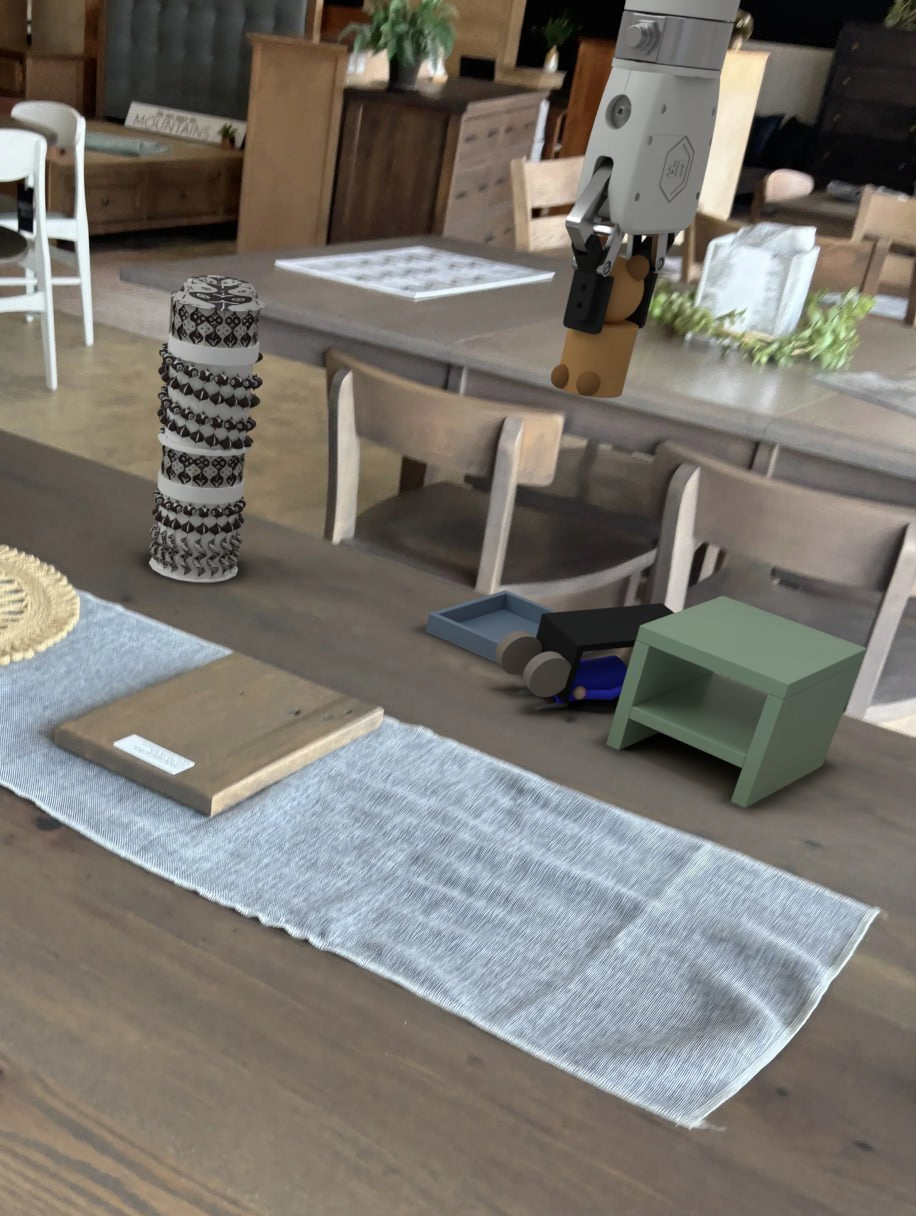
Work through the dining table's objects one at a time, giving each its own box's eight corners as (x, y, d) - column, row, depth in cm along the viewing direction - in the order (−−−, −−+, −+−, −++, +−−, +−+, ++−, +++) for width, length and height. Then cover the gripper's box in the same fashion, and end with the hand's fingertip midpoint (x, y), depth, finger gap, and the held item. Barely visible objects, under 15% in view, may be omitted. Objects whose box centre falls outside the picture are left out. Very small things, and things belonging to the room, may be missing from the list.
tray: (500, 610, 132) (505, 589, 131) (601, 652, 126) (607, 631, 124) (424, 634, 125) (428, 612, 124) (526, 679, 119) (532, 657, 118)
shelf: (686, 712, 116) (723, 595, 111) (821, 769, 110) (868, 648, 104) (604, 747, 109) (639, 625, 103) (743, 811, 102) (789, 684, 97)
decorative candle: (143, 549, 137) (163, 266, 123) (238, 556, 138) (269, 275, 123) (144, 582, 129) (165, 285, 115) (244, 590, 130) (277, 295, 116)
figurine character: (525, 741, 112) (689, 710, 116) (537, 652, 108) (707, 623, 111) (486, 704, 117) (643, 676, 121) (496, 618, 113) (659, 592, 116)
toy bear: (579, 378, 114) (611, 243, 109) (634, 394, 112) (670, 256, 106) (538, 385, 111) (569, 246, 105) (593, 401, 108) (628, 259, 102)
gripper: (651, 48, 91) (581, 347, 102) (778, 60, 101) (702, 331, 112) (556, 36, 95) (497, 324, 106) (687, 48, 106) (622, 310, 116)
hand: (603, 325), depth 109 cm, fingers closed on toy bear, 5 cm apart
